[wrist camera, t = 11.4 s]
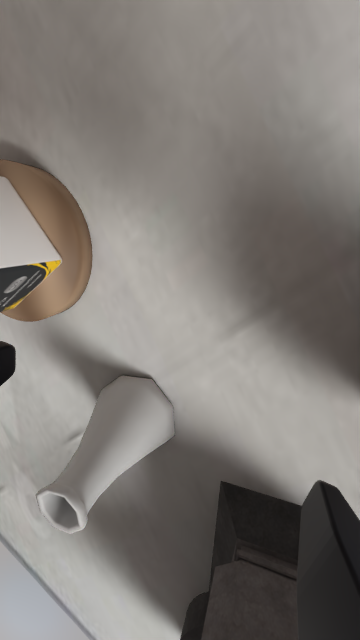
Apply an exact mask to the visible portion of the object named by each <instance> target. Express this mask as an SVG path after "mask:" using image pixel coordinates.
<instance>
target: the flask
mask: <svg viewBox="0 0 360 640" xmlns="http://www.w3.org/2000/svg"><path fill="white" fill-rule="evenodd" d="M173 436H175V427H174V411H173V406H172V404H171V403H170V402H169V401H168V399H167V398H166V397H165V395H164V394H163V393H162V391H161V390H160V389H159V388H158V386H157V385H156V384H155V382H154V381H153V380H152V379H145V378H138V377H130V376H123V375H122V376H120V377H119V378H117V379H116V380H114V381H113V382H111V383H110V384H109V385H107V386H106V387H104V388H103V389H102V390H101V392H100V394H99V397H98V400H97V402H96V405H95V408H94V410H93V413H92V416H91V419H90V421H89V423H88V426H87V428H86V431H85V433H84V435H83V438H82V440H81V442H80V445H79V447H78V449H77V451H76V452H75V454H74V455H73V457H72V459H71V460H70V462H69V463H68V465H67V467H66V468H65V470H64V471H63V472H62V473H61V474H60V476H59V477H58V478H57V479H56V480H55V481H54V483H52V484H50V485H48V486H46V487H44V488H43V489H41V490H40V491H38V493H37V494H36V498H37V502H38V506H39V509H40V512H41V513H42V514H43V515H44V517H45V518H46V519H47V520H48V522H49V523H50V524H51V525H52V526H53V527H54V528H56V529H59V530H62V531H64V532H67V533H70V534H71V533H74V532H77V531H80V530H83V529H84V527H85V526H86V524H87V521H88V518H87V514H88V512H89V510H90V509H91V507H92V506H93V504H94V503H95V502H96V500H97V499H98V497H99V496H100V495H101V494H102V493H103V492H104V491H105V490H106V489H107V488H108V487H109V486H110V484H111V483H112V482H113V481H114V480H115V479H116V478H117V477H118V476H119V475H121V474H122V473H123V472H125V471H126V470H127V469H129V468H130V467H131V466H133V465H134V464H135V463H137V462H138V461H139V460H141V459H142V458H143V457H145V456H146V455H147V454H149V453H150V452H152V451H153V450H155V449H156V448H158V447H159V446H161V445H162V444H164V443H165V442H167V441H168V440H169V439H171V438H172V437H173Z"/></svg>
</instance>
